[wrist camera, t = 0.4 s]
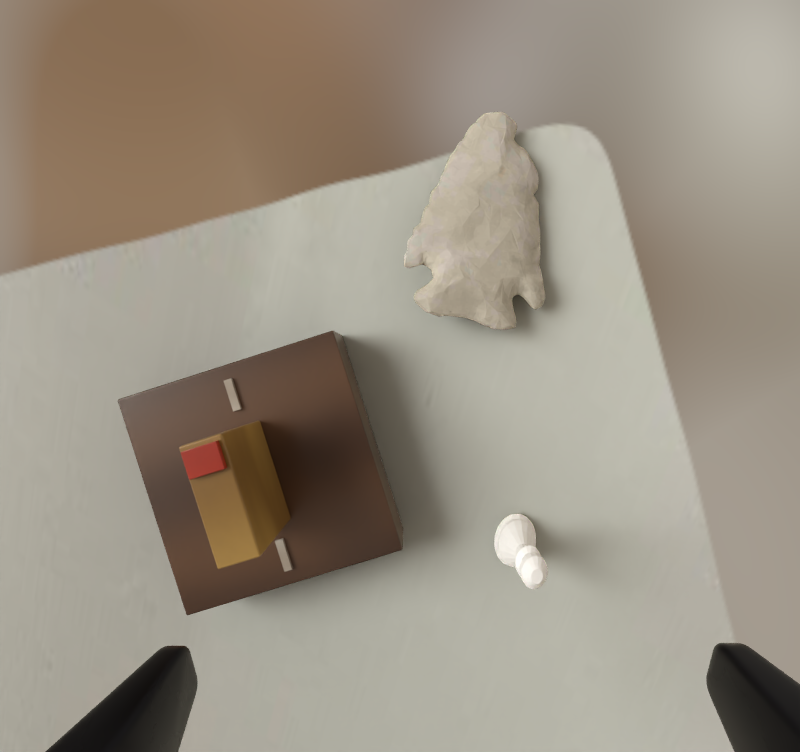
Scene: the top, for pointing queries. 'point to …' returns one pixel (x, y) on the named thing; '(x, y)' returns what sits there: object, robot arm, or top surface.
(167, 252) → the top surface
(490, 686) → the top surface
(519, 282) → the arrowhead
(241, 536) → the red-tipped wooden block
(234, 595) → the lock plate
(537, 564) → the chess pawn
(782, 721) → the robot arm
